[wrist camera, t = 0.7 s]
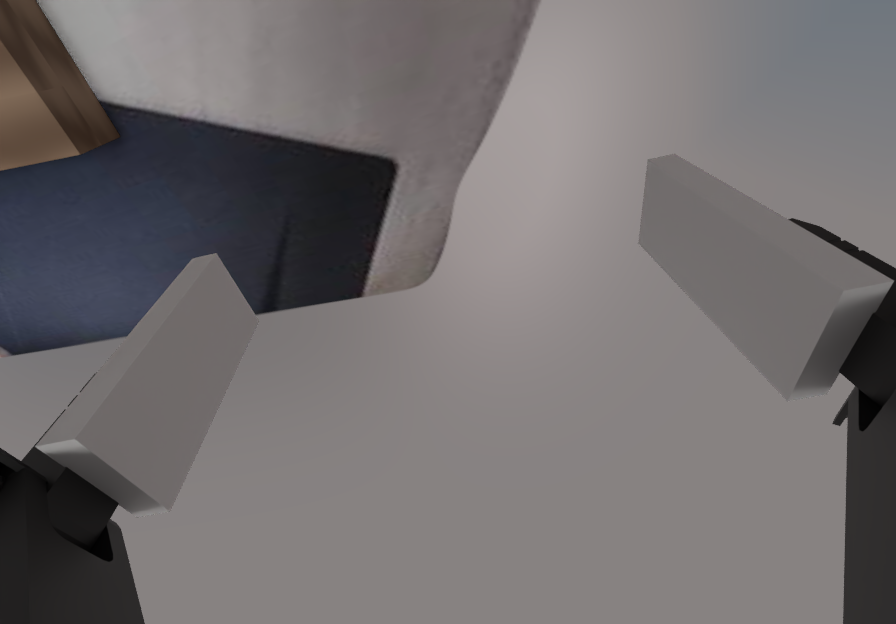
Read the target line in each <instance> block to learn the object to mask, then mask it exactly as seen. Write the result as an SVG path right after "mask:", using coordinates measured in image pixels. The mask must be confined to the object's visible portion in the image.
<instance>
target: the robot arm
mask: <svg viewBox="0 0 896 624" xmlns="http://www.w3.org/2000/svg"><path fill="white" fill-rule="evenodd" d="M639 244H640V245H641V247H643V249H644V250H645V251H646V252H647V253H648V254H649V255H650V256H651V257H652V258H653V259H654V260H655V261H656V262H657V263H658V265H659V266H661V268H662V269H663V270H664V271H665V272H666V273H667V274H668V275H669V276H670V277H671V278H672V279H673V280H674V282H675V283H677V285H678V286H679V287H680V288H681V289H682V290H683V291H684V292H685V293H686V294H687V295H688V296H689V297H690V299H691V300H692V301H693V302H694V303H695V304H696V305H697V306H698V307H699V308H700V309H701V310H702V311H703V312H704V313H705V314H706V315H707V317H708V318H709V319H710V320H711V321H712V322H713V323H714V324H715V325H716V326H717V327H718V328H719V329H720V330H721V331H722V332H723V334H725V336H726V337H727V338H728V339H729V340H730V341H731V342H732V343H733V344H734V345H735V346H736V347H737V348H738V349H739V350H740V352H741V353H742V354H743V355H744V356H745V357H746V358H747V359H748V360H749V361H750V362H751V363H752V364H753V365H754V366H755V368H756V369H757V370H758V371H759V372H760V373H761V374H762V375H763V376H764V377H765V378H766V379H767V380H768V381H769V382H770V383H771V384H772V386H773V387H774V388H775V389H776V390H777V391H778V392H779V393H780V394H781V395H782V396H783V397H784V398H785V399H786V400H787V401H791V400H797V399H803V398H808V397H814V396H819V395H824V394H827V393H828V392H829V390H830V388H831V387H832V384H833V383H834V381H835V380H836V378H837V376H838V374H839V373H841V374H842V375H844V376H845V377H846V378H847V379H848V380H849V381H851V382H852V383H853V384H854V385H855V387H854V389H853V391H852V392H851V394H850V395H849V397H848V398H847V400H846V401H845V403H844V404H843V406H842V407H841V409H840V411H839V412H838V414H837V415H836V417H835V419H834V421H833V424H835V425H839V426H840V425H841V424H842V422H843V420H844V419H845V418H847V417H848V432H847V477H846V522H845V526H846V527H845V568H844V569H845V570H844V614H843V615H844V616H843V624H896V268H894V267H892V266H891V265H889V264H887V263H885V262H883V261H881V260H880V259H878V258H876V257H874V256H872V255H871V254H869V253H867V252H865V251H863V250H862V251H859V250H858V247H856V246H854V245H853V244H851V243H849V242H847V241H845V240H844V241H841V238H840V237H838V236H836V235H834V234H833V233H831V232H829V231H827V230H825V229H823V228H822V227H820V226H817V225H813V224H810V223H806V222H803V221H800V220H796V219H793V218H792V219H786V218H784V217H783V216H781V215H780V214H778V213H776V212H774V211H773V210H771V209H769V208H767V207H766V206H764V205H762V204H761V203H759V202H757V201H755V200H753V199H752V198H750V197H748V196H747V195H745V194H743V193H742V192H740V191H738V190H736V189H735V188H733V187H731V186H729V185H728V184H726V183H724V182H722V181H721V180H719V179H717V178H716V177H714V176H712V175H710V174H709V173H707V172H705V171H704V170H702V169H700V168H698V167H697V166H695V165H693V164H691V163H690V162H688V161H686V160H685V159H683V158H681V157H679V156H678V155H676V154H672V155H667V156H663V157H658V158H653V159H648V162H647V171H646V181H645V189H644V199H643V207H642V217H641V225H640V234H639ZM258 322H259V320H258V318H257V317H256V315H255V314H254V312H253V311H252V309H251V307H250V306H249V304H248V303H247V301H246V299H245V298H244V296H243V295H242V293H241V292H240V290H239V288H238V287H237V285H236V284H235V282H234V281H233V279H232V277H231V276H230V274H229V273H228V271H227V269H226V268H225V266H224V265H223V263H222V262H221V260H220V258H219V257H218V255H217V254H216V253H215V254H211V255H206V256H202V257H197V258H193V259H192V260H191V261H190V262H189V263H188V265H187V266H186V267H185V268H184V269H183V271H182V272H181V273H180V274H179V275H178V277H177V278H176V279H175V280H174V281H173V283H172V284H171V285H170V286H169V287H168V289H167V290H166V291H165V292H164V293H163V294H162V296H161V297H160V298H159V299H158V300H157V302H156V303H155V304H154V305H153V306H152V308H151V309H150V310H149V311H148V312H147V314H146V315H145V316H144V317H143V318H142V320H141V321H140V322H139V323H138V324H137V325H136V327H135V328H134V329H133V330H132V331H131V333H130V334H129V335H128V336H127V337H126V339H125V340H124V341H123V342H122V343H121V345H120V346H119V347H118V348H117V349H116V351H115V352H114V353H113V354H112V355H111V356H110V358H109V359H108V360H107V362H105V364H104V365H103V366H102V367H101V368H100V370H99V371H98V372H97V373H96V374H94V375H93V377H92V378H91V379H90V380H89V381H88V383H87V384H86V385H85V386H84V387H83V388H82V390H81V391H80V394H79V395H77V396H76V397H75V398H74V399H73V400H72V402H71V403H70V404H69V405H68V408H67V409H66V410H64V411H63V412H62V413H61V415H60V416H59V417H58V418H57V419H56V421H55V422H54V423H53V424H52V425H51V426H50V428H49V429H48V430H47V431H46V432H45V434H44V435H43V436H42V437H41V438H40V440H39V441H38V442H37V443H36V444H35V445H34V447H33V448H32V449H31V450H30V451H29V453H28V454H27V455H26V456H25V457H24V459H23V460H22V461H20V460H18V459H16V458H15V457H13V456H12V455H10V454H9V453H7V452H6V451H4V450H2V449H1V448H0V624H145V623H144V619H143V615H142V612H141V607H140V603H139V599H138V595H137V591H136V588H135V583H134V579H133V575H132V571H131V568H130V563H129V559H128V555H127V551H126V548H125V544H124V540H123V536H122V532H121V529H120V527H119V526H118V525H117V523H115V522H114V521H112V520H111V519H110V518H111V516H112V514H113V513H114V511H115V509H116V507H117V506H118V505H120V506H122V507H123V508H124V509H126V510H127V511H129V512H130V513H131V514H133V515H135V516H136V517H143V516H149V515H154V514H160V513H165V512H170V511H171V508H172V506H173V504H174V502H175V500H176V498H177V496H178V493H179V491H180V489H181V487H182V485H183V483H184V481H185V479H186V476H187V474H188V472H189V470H190V468H191V466H192V464H193V461H194V459H195V457H196V455H197V453H198V451H199V449H200V447H201V444H202V442H203V440H204V438H205V436H206V434H207V432H208V429H209V427H210V425H211V423H212V421H213V419H214V417H215V414H216V412H217V410H218V408H219V406H220V404H221V402H222V400H223V397H224V395H225V393H226V390H227V389H228V387H229V384H230V382H231V380H232V378H233V376H234V374H235V372H236V370H237V367H238V365H239V363H240V361H241V359H242V356H243V354H244V352H245V350H246V348H247V346H248V344H249V342H250V340H251V338H252V335H253V333H254V331H255V329H256V327H257V325H258Z"/></svg>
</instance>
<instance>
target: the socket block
mask: <svg viewBox="0 0 896 624" xmlns="http://www.w3.org/2000/svg"><path fill="white" fill-rule="evenodd" d="M119 137H120V135H119V133H118V132H117V130H116V129H115V127H114V125H113V124H112V122H111V121H110V119H109V117H108V116H107V114H106V113H105V111H104V109H103V108H102V106H101V105H100V103H99V101H98V100H97V98H96V97H95V95H94V93H93V92H92V90H91V89H90V87H89V85H88V84H87V82H86V81H85V79H84V77H83V76H82V74H81V73H80V71H79V69H78V68H77V66H76V65H75V63H74V61H73V60H72V58H71V56H70V55H69V53H68V52H67V50H66V48H65V47H64V45H63V44H62V42H61V40H60V39H59V37H58V36H57V34H56V32H55V31H54V29H53V28H52V26H51V24H50V23H49V21H48V20H47V18H46V16H45V15H44V13H43V12H42V10H41V8H40V7H39V5H38V4H37V2H36V0H0V171H1V170H6V169H11V168H16V167H21V166H26V165H31V164H36V163H41V162H46V161H51V160H56V159H61V158H66V157H71V156H76V155H81V154H83V153H85V152H87V151H90V150H92V149H94V148H96V147H99V146H101V145H103V144H105V143H108V142H110V141H112V140H115V139H117V138H119Z"/></svg>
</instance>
